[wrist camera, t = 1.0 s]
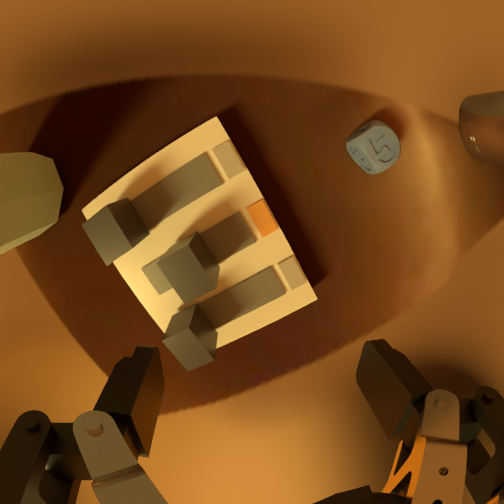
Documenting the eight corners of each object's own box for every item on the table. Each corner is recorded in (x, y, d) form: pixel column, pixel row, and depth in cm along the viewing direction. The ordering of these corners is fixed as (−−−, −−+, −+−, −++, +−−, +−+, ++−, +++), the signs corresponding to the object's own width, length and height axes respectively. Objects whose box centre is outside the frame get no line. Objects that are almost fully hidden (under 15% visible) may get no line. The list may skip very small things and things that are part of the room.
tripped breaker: (197, 230, 25) (188, 244, 20) (220, 267, 26) (216, 288, 21) (170, 246, 25) (156, 263, 21) (193, 282, 26) (184, 304, 22)
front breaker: (127, 197, 23) (106, 204, 19) (150, 233, 25) (132, 248, 20) (105, 214, 24) (81, 224, 19) (126, 249, 25) (106, 265, 21)
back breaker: (196, 303, 27) (188, 327, 22) (218, 332, 28) (214, 360, 24) (172, 315, 27) (161, 340, 23) (194, 343, 28) (188, 371, 24)
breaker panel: (218, 120, 25) (215, 115, 22) (311, 288, 30) (318, 300, 27) (93, 206, 26) (79, 210, 24) (190, 348, 32) (186, 362, 29)
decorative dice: (366, 121, 25) (384, 116, 21) (388, 151, 26) (407, 151, 22) (340, 143, 26) (355, 140, 22) (363, 173, 27) (381, 176, 23)
